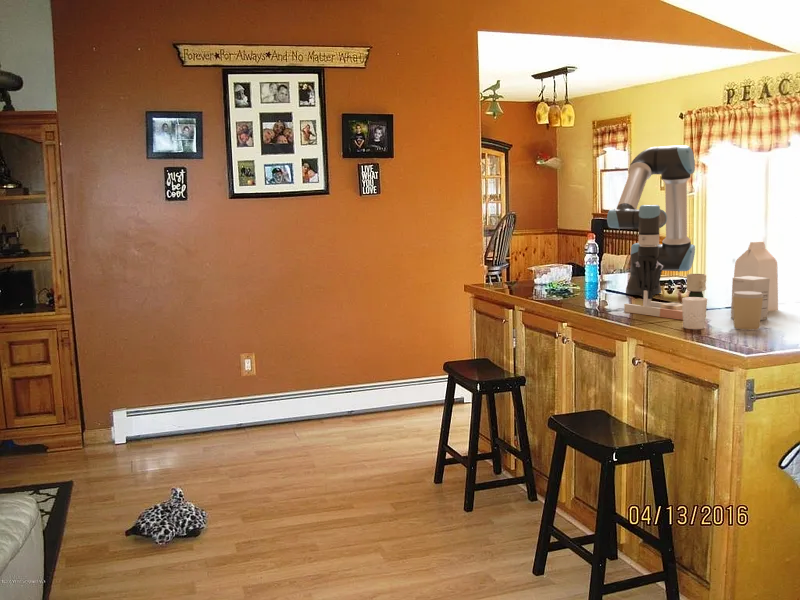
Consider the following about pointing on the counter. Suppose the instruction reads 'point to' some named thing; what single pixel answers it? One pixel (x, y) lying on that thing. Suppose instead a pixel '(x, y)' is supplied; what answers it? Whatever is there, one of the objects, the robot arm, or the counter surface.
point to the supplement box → (752, 285)
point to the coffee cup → (747, 309)
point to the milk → (759, 269)
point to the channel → (654, 310)
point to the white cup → (694, 312)
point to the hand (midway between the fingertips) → (647, 306)
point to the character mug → (696, 284)
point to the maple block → (672, 306)
